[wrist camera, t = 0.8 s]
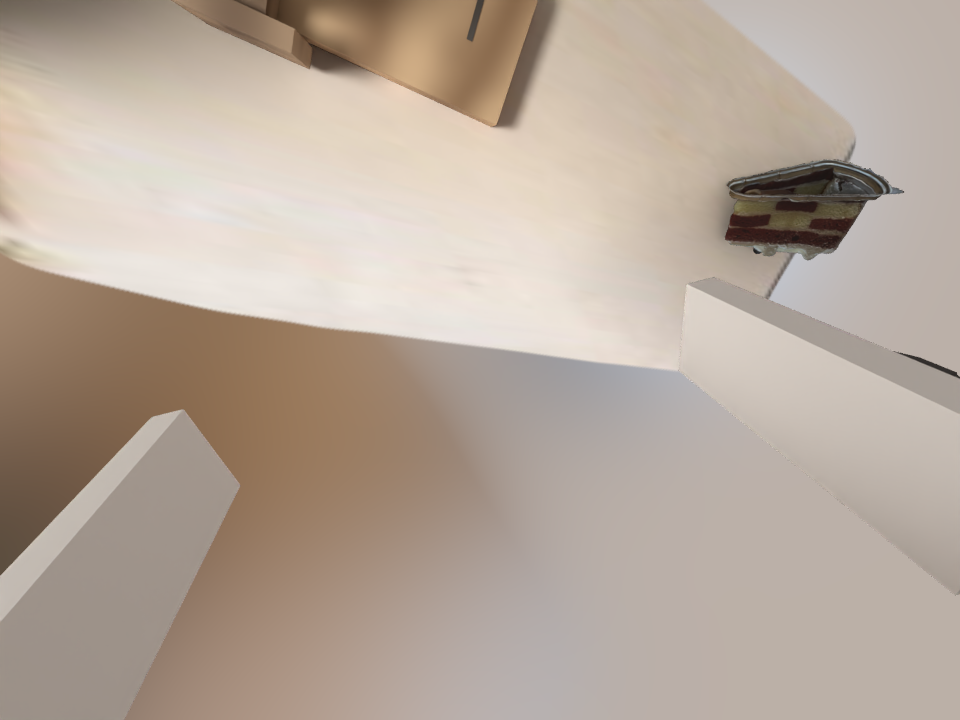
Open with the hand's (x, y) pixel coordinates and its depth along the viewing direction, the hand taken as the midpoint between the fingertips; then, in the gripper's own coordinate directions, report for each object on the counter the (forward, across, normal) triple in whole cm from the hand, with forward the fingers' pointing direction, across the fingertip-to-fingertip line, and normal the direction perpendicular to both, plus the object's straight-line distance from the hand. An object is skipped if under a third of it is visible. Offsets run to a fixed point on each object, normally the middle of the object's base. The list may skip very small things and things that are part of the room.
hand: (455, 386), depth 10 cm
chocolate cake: (+27, +28, -5) cm, 40 cm away
